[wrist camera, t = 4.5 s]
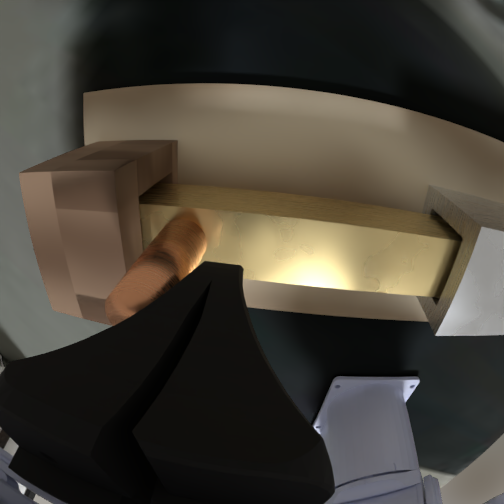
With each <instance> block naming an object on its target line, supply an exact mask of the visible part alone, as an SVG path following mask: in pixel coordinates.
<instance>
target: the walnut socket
mask: <svg viewBox="0 0 504 504" xmlns="http://www.w3.org/2000/svg"><path fill="white" fill-rule="evenodd" d="M19 177H20V184H21V190H22V196H23V202H24V207H25V212H26V217H27V222H28V227H29V231H30V235H31V239H32V243H33V247H34V251H35V255H36V259H37V262H38V266H39V269H40V272H41V276H42V279H43V282H44V285H45V288H46V291H47V294H48V297H49V300H50V303H51V306H52V309H53V310H54V311H58V312H61V313H65V314H68V315H72V316H76V317H80V318H83V319H87V320H91V321H95V322H99V323H103V324H107V325H112V324H111V323H110V321H109V320H108V317H107V315H106V312H105V301H106V299H107V297H108V296H109V294H110V293H111V292H112V291H113V289H114V288H115V287H116V285H117V284H118V283H119V281H120V280H121V279H122V278H123V276H124V275H125V274H126V273H127V271H128V270H129V269H130V268H131V266H132V265H133V264H134V263H135V261H136V260H137V259H138V258H139V256H140V255H141V254H142V253H143V244H142V234H141V223H140V212H139V198H138V197H139V196H140V195H141V194H143V193H144V192H145V191H147V190H148V189H149V188H151V187H152V186H153V185H155V184H156V183H168V184H178V140H120V141H98V142H95V143H92V144H89V145H86V146H83V147H81V148H78V149H75V150H73V151H70V152H67V153H65V154H62V155H60V156H57V157H55V158H52V159H50V160H47V161H45V162H43V163H40V164H38V165H36V166H33V167H31V168H29V169H27V170H24V171H22V172H20V173H19ZM112 326H113V325H112Z"/></svg>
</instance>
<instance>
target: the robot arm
mask: <svg viewBox="0 0 504 504" xmlns="http://www.w3.org/2000/svg"><path fill="white" fill-rule="evenodd" d="M243 273H244V269H243V267H242V266H241V265H235V264H227V263H218V262H210V261H204V262H203V263H201V264H200V265H199V266H198V267H196V268H195V269H194V270H193V271H192V272H190V273H189V274H188V275H187V276H186V277H184V278H183V279H182V280H181V281H180V282H178V283H177V284H176V285H174V286H173V287H172V288H171V289H169V290H168V291H167V292H166V293H164V294H163V295H162V296H160V297H159V298H157V299H156V300H155V301H153V302H152V303H150V304H149V305H148V306H146V307H145V308H143V309H142V310H140V311H138V312H137V313H135V314H134V315H132V316H130V317H128V318H127V319H125V320H123V321H121V322H120V323H118V324H116V325H114V326H112V327H110V328H108V329H106V330H104V331H102V332H99V333H97V334H95V335H93V336H91V337H89V338H87V339H84V340H82V341H79V342H77V343H74V344H72V345H69V346H66V347H63V348H60V349H57V350H54V351H51V352H48V353H45V354H41V355H37V356H33V357H29V358H25V359H21V360H17V361H12V362H9V363H8V364H7V366H6V367H5V368H4V370H3V371H2V373H1V374H0V427H1V428H2V429H3V431H4V432H5V433H6V434H7V435H8V436H9V437H10V438H11V439H12V440H13V441H14V442H15V443H16V444H17V445H18V446H19V447H18V448H17V450H16V452H15V454H14V456H12V455H11V454H9V453H8V452H6V451H5V450H4V449H2V448H1V447H0V504H38V503H37V502H35V501H33V500H32V499H30V498H28V497H27V496H25V495H24V494H22V493H21V491H20V489H19V485H18V483H20V484H21V485H23V486H24V487H26V488H27V489H29V490H31V491H32V492H34V493H35V494H37V495H39V496H41V497H42V498H44V499H46V500H48V501H49V502H51V503H53V504H442V499H441V493H440V486H439V482H438V479H437V478H434V477H432V476H431V475H428V476H426V477H424V483H423V479H422V476H421V472H420V469H419V464H418V459H417V454H416V449H415V444H414V439H413V434H412V429H411V425H410V420H409V416H408V412H407V408H406V404H405V402H406V401H407V400H408V398H409V397H410V395H411V394H412V392H413V391H414V389H415V388H416V387H417V385H418V384H419V382H420V380H419V377H416V376H414V377H352V376H338V377H335V378H334V379H333V381H332V384H331V386H330V388H329V391H328V393H327V395H326V398H325V400H324V402H323V404H322V407H321V409H320V411H319V413H318V415H317V418H316V420H315V422H314V424H313V426H312V425H311V424H310V423H309V421H308V420H307V419H306V418H305V416H304V415H303V414H302V413H301V411H300V410H299V409H298V407H297V406H296V405H295V403H294V402H293V400H292V399H291V398H290V396H289V395H288V394H287V392H286V390H285V389H284V387H283V386H282V384H281V382H280V381H279V379H278V377H277V376H276V374H275V372H274V371H273V369H272V368H271V366H270V364H269V362H268V360H267V358H266V356H265V354H264V352H263V350H262V348H261V345H260V343H259V341H258V339H257V336H256V334H255V331H254V328H253V325H252V322H251V319H250V316H249V313H248V309H247V305H246V301H245V297H244V291H243ZM320 434H321V435H320ZM16 481H17V482H18V483H17V482H16ZM424 486H425V490H424ZM484 504H504V493H502V494H500V495H498V496H496V497H494V498H492V499H490V500H489V501H487V502H485V503H484Z"/></svg>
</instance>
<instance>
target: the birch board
mask: <svg viewBox="0 0 504 504" xmlns="http://www.w3.org/2000/svg"><path fill="white" fill-rule="evenodd" d="M83 112H84V142H85V146H86V145H89V144H92V143H95V142H98V141H120V140H178V184H185V185H200V186H214V187H226V188H238V189H249V190H259V191H269V192H278V193H287V194H296V195H304V196H313V197H320V198H328V199H335V200H343V201H350V202H357V203H363V204H370V205H376V206H383V207H389V208H395V209H401V210H406V211H412V212H418V213H422V211H423V207H424V203H425V199H426V195H427V191H428V186H429V185H434V186H438V187H442V188H446V189H451V190H455V191H459V192H462V193H466V194H470V195H474V196H478V197H481V198H485V199H488V200H492V201H495V202H499V203H502V204H504V142H501V141H499V140H497V139H494V138H492V137H489V136H487V135H484V134H482V133H479V132H477V131H474V130H471V129H469V128H466V127H463V126H460V125H457V124H454V123H451V122H448V121H445V120H442V119H439V118H436V117H433V116H429V115H426V114H422V113H419V112H415V111H412V110H408V109H404V108H400V107H396V106H392V105H388V104H384V103H379V102H375V101H370V100H365V99H360V98H355V97H350V96H344V95H338V94H332V93H326V92H319V91H311V90H304V89H295V88H286V87H275V86H262V85H246V84H215V83H194V84H164V85H148V86H135V87H125V88H116V89H108V90H100V91H93V92H87V93H83ZM243 291H244V297H245V301H246V305H247V307H253V308H261V309H270V310H279V311H288V312H298V313H309V314H320V315H331V316H343V317H356V318H371V319H387V320H405V321H428V319H427V317H426V315H425V313H424V311H423V309H422V307H421V305H420V303H419V301H418V299H417V297H416V296H413V295H401V294H389V293H377V292H366V291H355V290H345V289H334V288H324V287H314V286H305V285H295V284H286V283H277V282H268V281H259V280H250V279H243ZM428 322H429V321H428Z"/></svg>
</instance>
